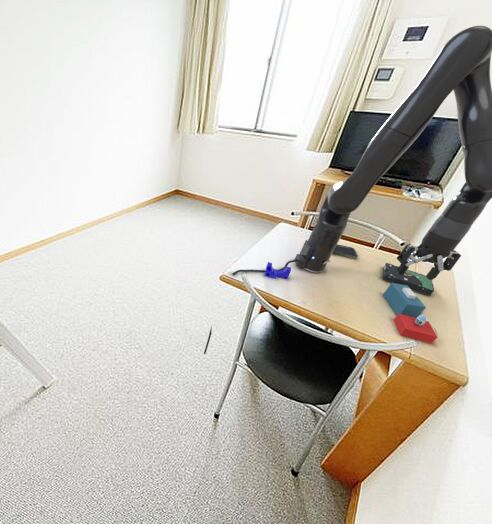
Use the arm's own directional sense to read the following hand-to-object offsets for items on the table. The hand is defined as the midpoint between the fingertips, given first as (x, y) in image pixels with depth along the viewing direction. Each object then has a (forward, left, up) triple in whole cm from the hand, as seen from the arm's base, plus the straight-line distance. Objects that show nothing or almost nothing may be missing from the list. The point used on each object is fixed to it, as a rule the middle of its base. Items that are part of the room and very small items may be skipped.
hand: (414, 276), depth 97 cm
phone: (-10, +31, -11) cm, 34 cm away
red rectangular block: (-2, -14, -11) cm, 18 cm away
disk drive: (+10, +15, -11) cm, 21 cm away
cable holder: (-39, +4, -11) cm, 41 cm away
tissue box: (0, -2, -11) cm, 11 cm away
